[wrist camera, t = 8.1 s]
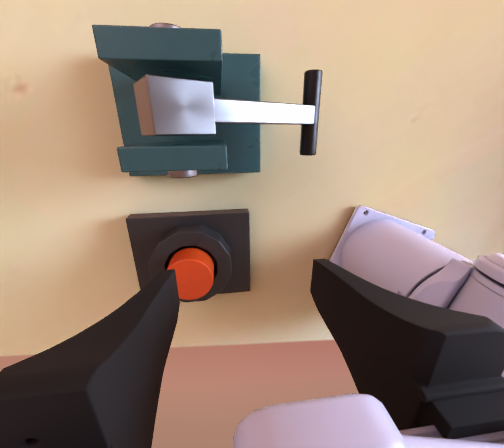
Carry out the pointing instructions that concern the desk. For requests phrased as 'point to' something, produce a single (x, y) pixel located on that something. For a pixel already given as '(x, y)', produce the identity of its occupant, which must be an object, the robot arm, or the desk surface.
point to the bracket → (184, 66)
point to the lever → (220, 108)
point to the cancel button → (192, 272)
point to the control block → (194, 245)
